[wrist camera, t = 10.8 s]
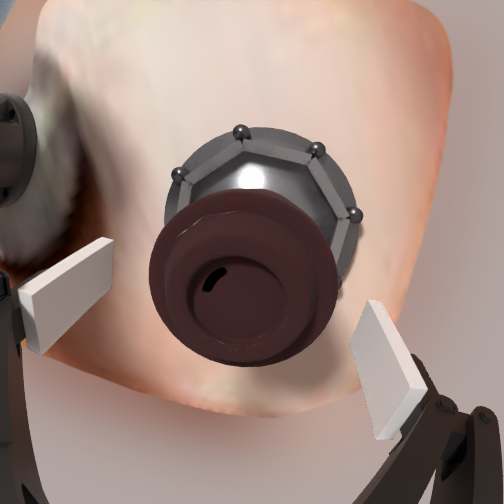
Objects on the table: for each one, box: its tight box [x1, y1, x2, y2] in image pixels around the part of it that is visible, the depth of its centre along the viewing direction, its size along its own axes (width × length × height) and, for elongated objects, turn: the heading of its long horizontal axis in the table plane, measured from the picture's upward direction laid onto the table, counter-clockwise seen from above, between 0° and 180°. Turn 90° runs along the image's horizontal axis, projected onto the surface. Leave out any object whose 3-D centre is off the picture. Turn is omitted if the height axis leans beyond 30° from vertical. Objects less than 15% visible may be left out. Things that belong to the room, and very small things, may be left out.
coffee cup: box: [149, 188, 338, 367], centre depth 22 cm, size 10×10×15 cm
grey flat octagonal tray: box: [164, 124, 363, 289], centre depth 29 cm, size 18×18×2 cm
